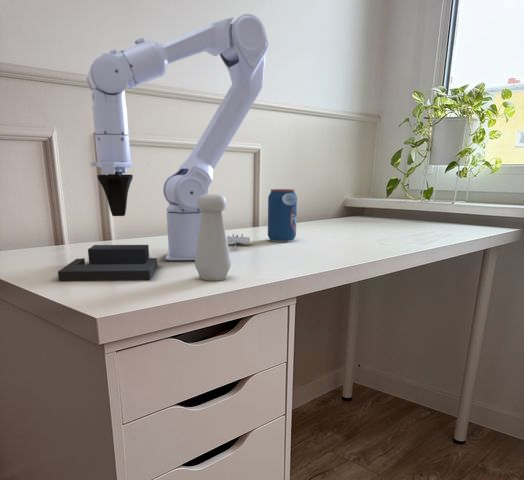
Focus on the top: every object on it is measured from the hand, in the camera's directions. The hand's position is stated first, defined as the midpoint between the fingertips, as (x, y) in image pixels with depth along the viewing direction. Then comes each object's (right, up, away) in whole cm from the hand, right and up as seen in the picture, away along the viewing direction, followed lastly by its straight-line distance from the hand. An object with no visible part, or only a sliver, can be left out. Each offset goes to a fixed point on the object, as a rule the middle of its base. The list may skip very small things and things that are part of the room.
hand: (118, 215), depth 94 cm
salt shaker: (+18, -13, -11) cm, 25 cm away
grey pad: (0, -8, +1) cm, 9 cm away
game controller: (+20, -1, +23) cm, 30 cm away
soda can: (+31, +2, +33) cm, 45 cm away
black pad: (+1, -12, -8) cm, 14 cm away
